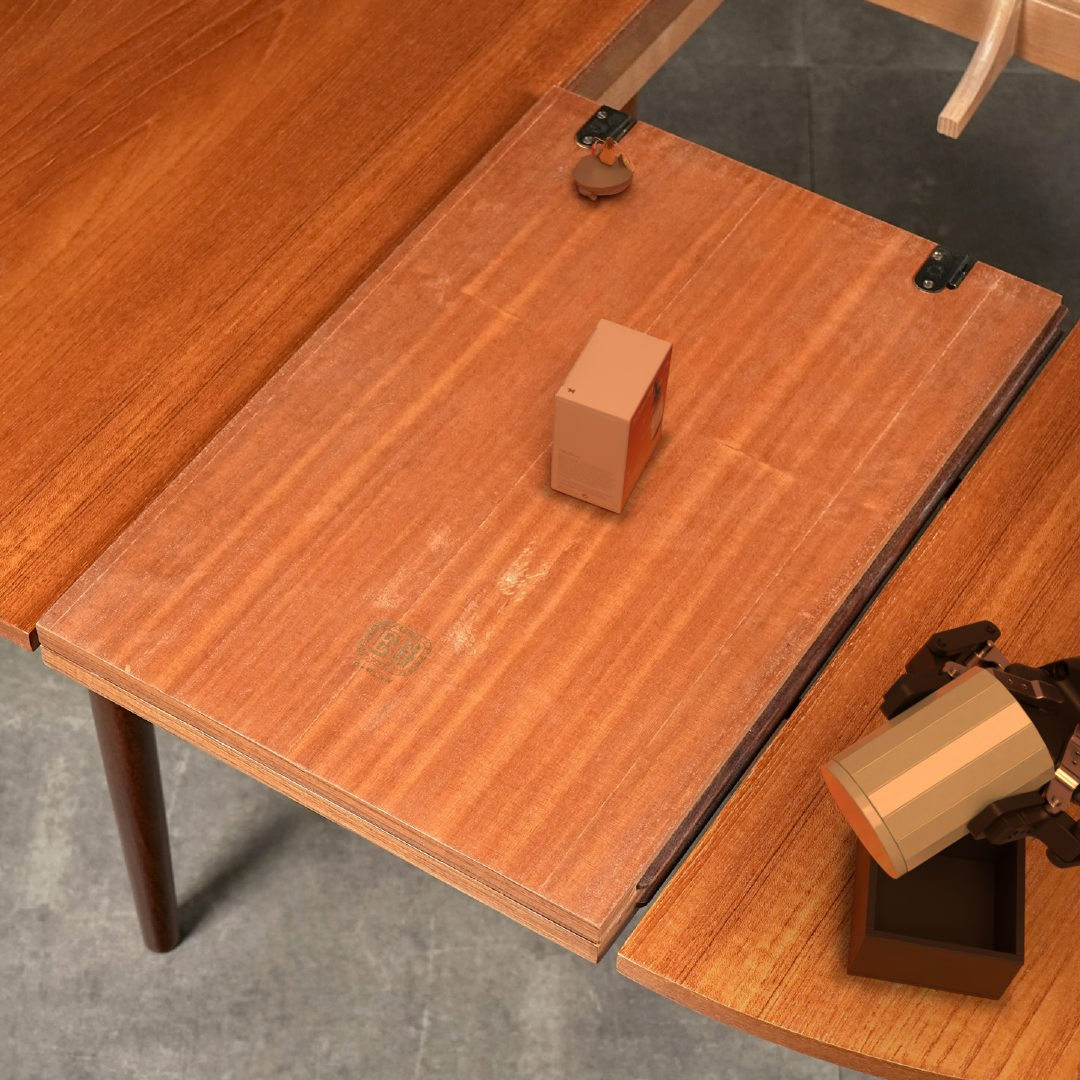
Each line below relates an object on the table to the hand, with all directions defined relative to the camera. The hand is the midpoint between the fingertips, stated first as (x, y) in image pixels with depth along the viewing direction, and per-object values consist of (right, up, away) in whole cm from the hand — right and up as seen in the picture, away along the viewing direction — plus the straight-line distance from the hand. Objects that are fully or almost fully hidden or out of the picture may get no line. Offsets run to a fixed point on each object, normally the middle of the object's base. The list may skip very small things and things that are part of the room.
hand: (937, 760), depth 81 cm
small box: (-14, +16, +43) cm, 48 cm away
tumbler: (-4, -3, +1) cm, 5 cm away
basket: (+5, -12, +23) cm, 27 cm away
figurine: (-14, +39, +59) cm, 72 cm away
